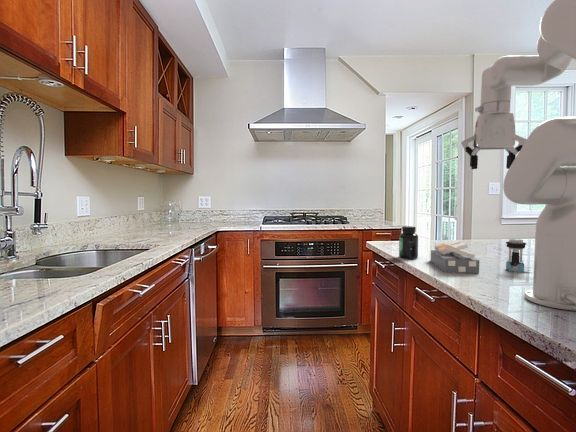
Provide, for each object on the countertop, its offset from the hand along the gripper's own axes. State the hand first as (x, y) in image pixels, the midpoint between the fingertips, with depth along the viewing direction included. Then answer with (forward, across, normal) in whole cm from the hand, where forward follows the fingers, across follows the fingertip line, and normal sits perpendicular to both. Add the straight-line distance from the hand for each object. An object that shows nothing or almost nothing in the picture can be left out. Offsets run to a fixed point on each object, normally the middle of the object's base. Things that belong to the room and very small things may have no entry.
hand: (491, 168), depth 101 cm
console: (+32, -8, +8) cm, 34 cm away
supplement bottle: (+33, -20, +22) cm, 44 cm away
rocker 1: (+27, -8, +14) cm, 31 cm away
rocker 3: (+26, -7, +2) cm, 27 cm away
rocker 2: (+26, -8, +8) cm, 29 cm away
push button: (+32, +11, +5) cm, 34 cm away
